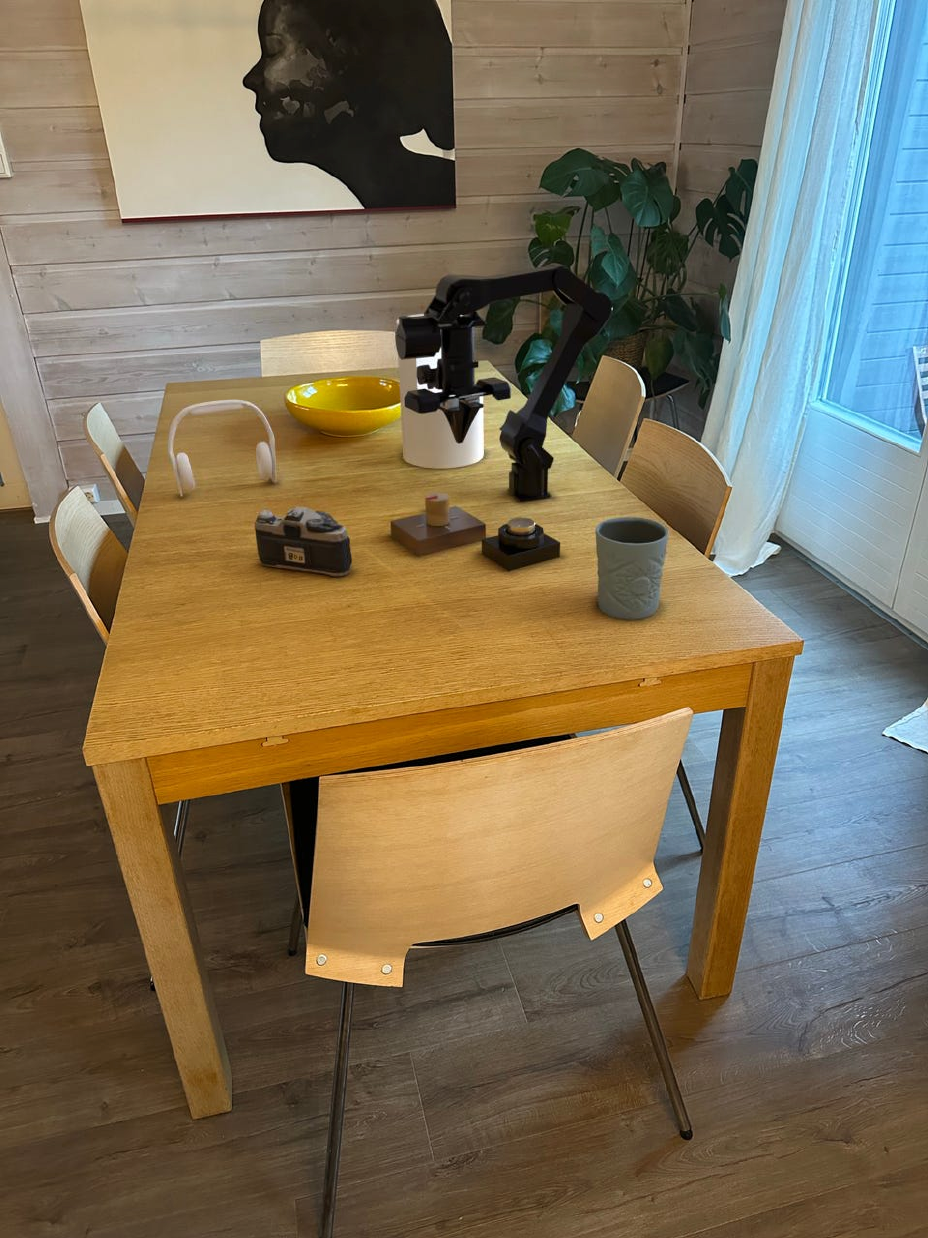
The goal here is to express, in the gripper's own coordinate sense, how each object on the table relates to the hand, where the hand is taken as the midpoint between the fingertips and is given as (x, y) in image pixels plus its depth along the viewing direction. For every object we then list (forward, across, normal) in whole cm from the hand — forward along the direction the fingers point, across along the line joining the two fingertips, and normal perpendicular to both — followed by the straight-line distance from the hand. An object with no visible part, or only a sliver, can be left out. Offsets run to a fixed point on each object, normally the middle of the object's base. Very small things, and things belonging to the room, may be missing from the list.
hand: (459, 442), depth 162 cm
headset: (+12, +34, -31) cm, 48 cm away
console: (+12, +11, +11) cm, 20 cm away
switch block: (+12, +3, +25) cm, 28 cm away
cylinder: (+12, -12, -27) cm, 32 cm away
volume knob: (+9, +11, +11) cm, 18 cm away
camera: (+12, +33, +8) cm, 36 cm away
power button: (+8, +3, +25) cm, 26 cm away
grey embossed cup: (+12, 0, +48) cm, 49 cm away
